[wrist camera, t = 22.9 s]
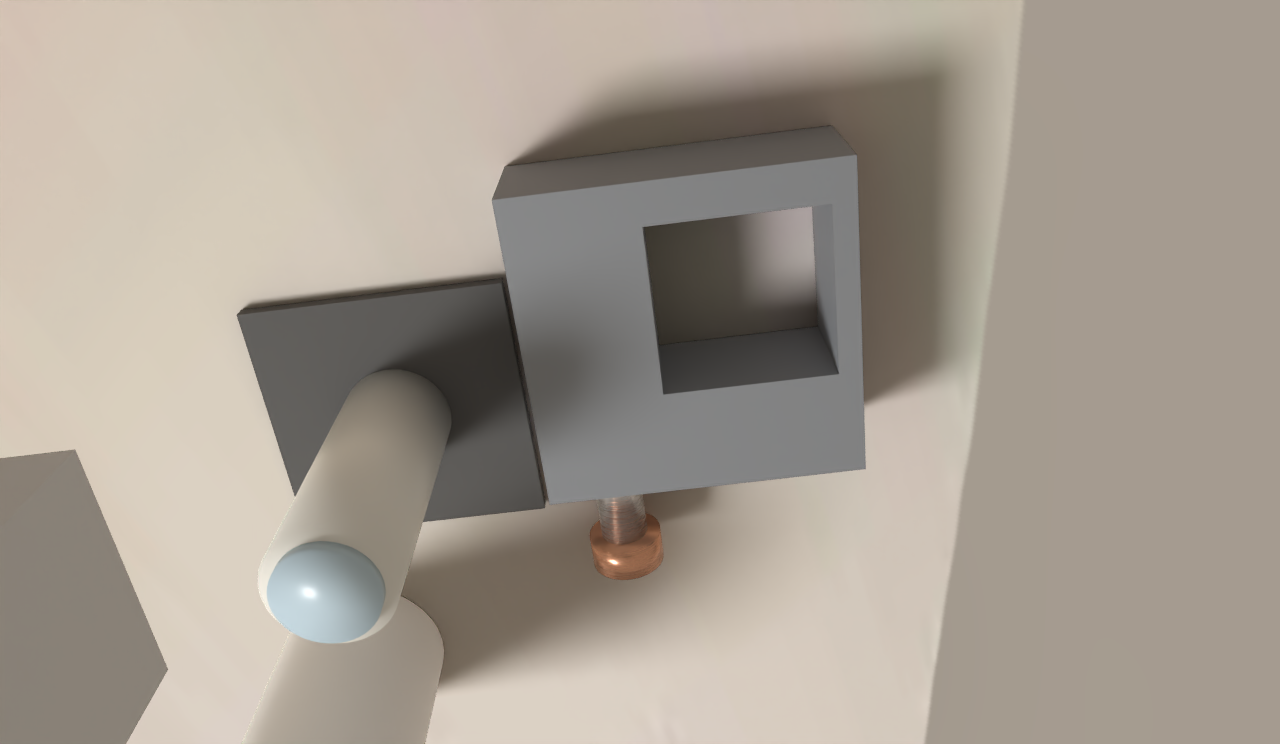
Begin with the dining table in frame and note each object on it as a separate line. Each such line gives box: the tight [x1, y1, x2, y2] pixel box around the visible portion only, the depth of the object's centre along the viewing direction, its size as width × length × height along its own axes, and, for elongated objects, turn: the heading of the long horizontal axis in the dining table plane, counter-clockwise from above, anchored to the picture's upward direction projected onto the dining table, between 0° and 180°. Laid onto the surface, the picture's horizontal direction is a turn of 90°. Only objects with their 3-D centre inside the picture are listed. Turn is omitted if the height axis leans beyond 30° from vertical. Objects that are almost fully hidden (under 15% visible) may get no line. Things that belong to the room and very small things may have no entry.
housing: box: [492, 126, 866, 505], centre depth 44 cm, size 14×14×5 cm
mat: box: [237, 278, 546, 522], centre depth 48 cm, size 12×12×1 cm
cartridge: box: [257, 369, 452, 643], centre depth 42 cm, size 5×5×14 cm
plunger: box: [590, 494, 663, 580], centre depth 47 cm, size 10×3×3 cm, turn 7°
